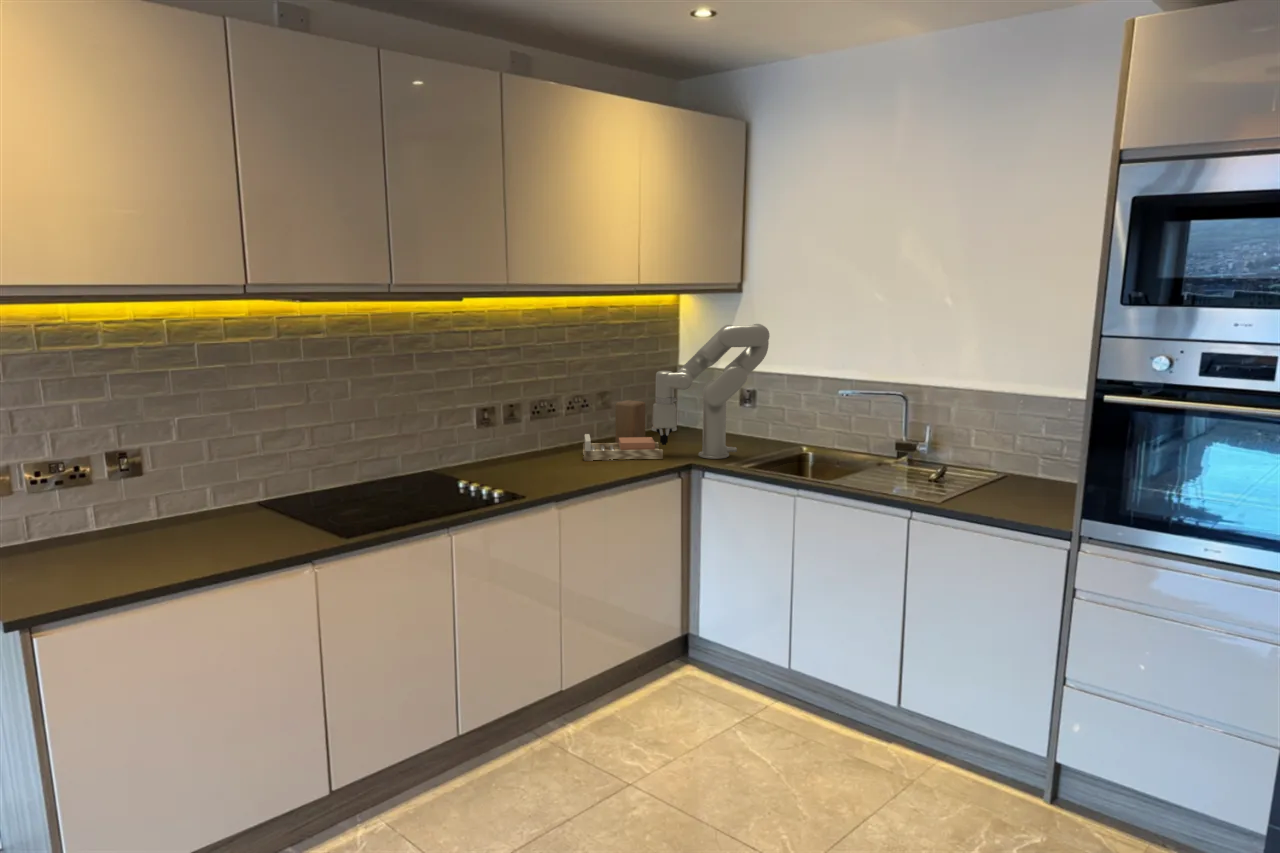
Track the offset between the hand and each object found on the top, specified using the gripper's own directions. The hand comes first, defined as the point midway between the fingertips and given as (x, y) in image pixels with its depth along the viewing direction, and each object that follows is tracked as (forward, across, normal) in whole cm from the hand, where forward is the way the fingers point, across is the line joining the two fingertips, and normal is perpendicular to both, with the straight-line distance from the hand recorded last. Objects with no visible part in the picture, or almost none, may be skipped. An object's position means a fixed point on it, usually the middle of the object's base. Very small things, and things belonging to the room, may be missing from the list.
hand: (663, 444), depth 343 cm
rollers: (+3, +17, 0) cm, 18 cm away
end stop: (+3, +32, 0) cm, 32 cm away
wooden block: (+5, +12, -19) cm, 23 cm away
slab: (+1, +11, 0) cm, 11 cm away
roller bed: (+5, +17, 0) cm, 18 cm away
